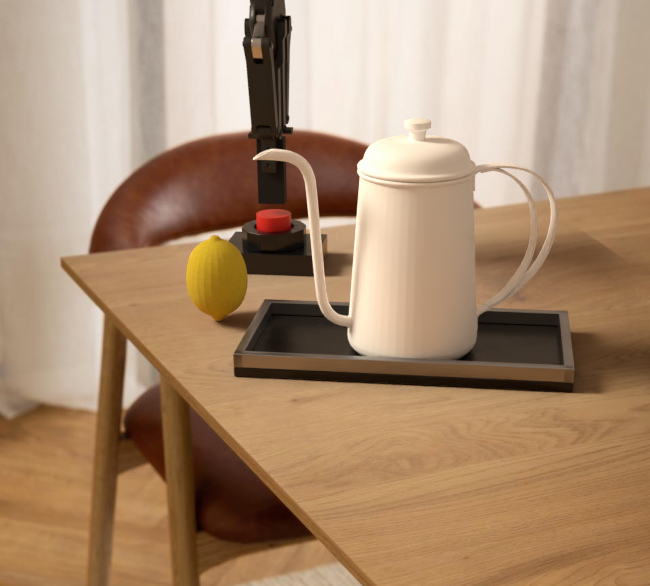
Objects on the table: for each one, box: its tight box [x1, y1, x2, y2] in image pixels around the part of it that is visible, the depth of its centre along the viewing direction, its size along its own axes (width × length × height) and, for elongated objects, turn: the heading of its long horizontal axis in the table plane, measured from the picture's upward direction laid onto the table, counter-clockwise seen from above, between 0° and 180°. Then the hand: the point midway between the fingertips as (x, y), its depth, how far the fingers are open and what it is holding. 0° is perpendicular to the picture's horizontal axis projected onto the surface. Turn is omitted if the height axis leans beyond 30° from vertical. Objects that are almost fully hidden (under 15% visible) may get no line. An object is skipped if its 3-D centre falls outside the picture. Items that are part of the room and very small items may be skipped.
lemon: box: [185, 234, 249, 322], centre depth 107 cm, size 6×6×8 cm
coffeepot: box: [252, 117, 559, 360], centre depth 96 cm, size 11×25×19 cm, turn 102°
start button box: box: [228, 218, 328, 278], centre depth 123 cm, size 10×8×4 cm
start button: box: [255, 208, 292, 232], centre depth 122 cm, size 4×4×2 cm
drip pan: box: [232, 298, 576, 393], centre depth 101 cm, size 27×14×2 cm, turn 82°
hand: (272, 202), depth 121 cm, fingers closed
